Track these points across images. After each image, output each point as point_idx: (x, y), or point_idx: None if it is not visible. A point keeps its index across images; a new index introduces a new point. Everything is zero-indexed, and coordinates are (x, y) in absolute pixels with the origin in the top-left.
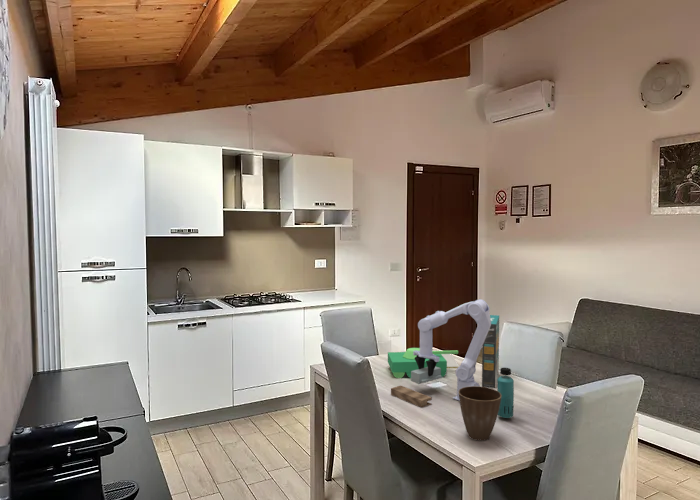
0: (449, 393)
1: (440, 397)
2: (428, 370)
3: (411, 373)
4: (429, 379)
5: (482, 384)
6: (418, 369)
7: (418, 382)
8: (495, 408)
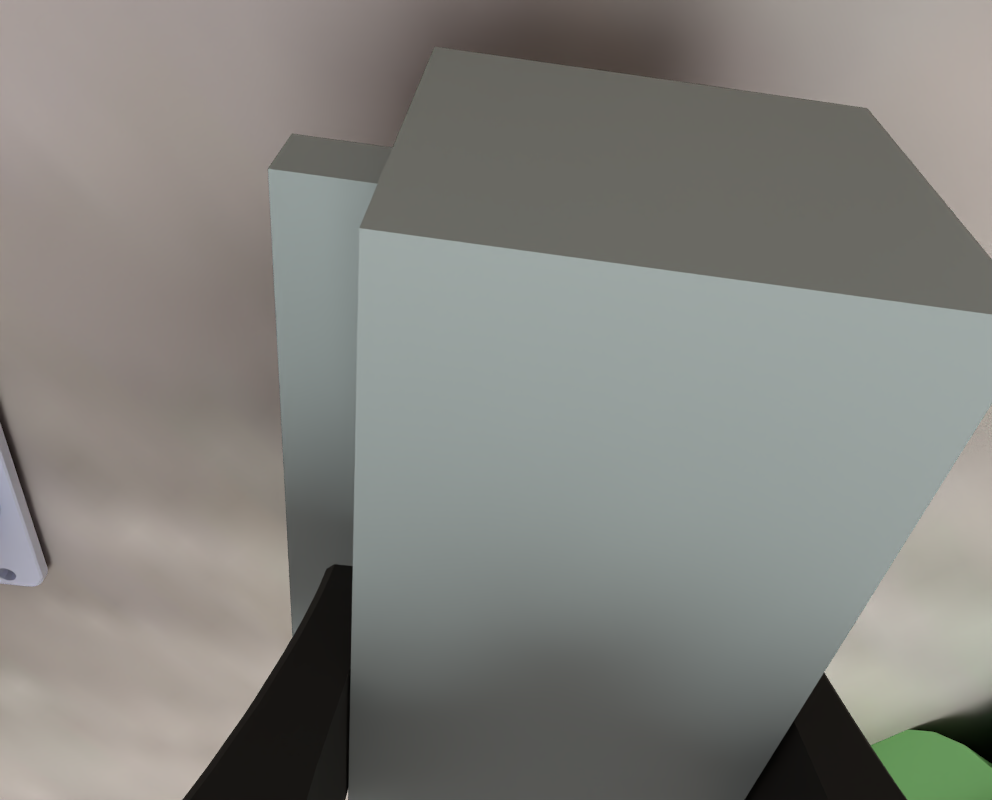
0: (220, 497)
1: (150, 268)
2: (300, 723)
3: (957, 251)
4: (287, 447)
5: None
6: (802, 667)
7: (454, 68)
8: None
